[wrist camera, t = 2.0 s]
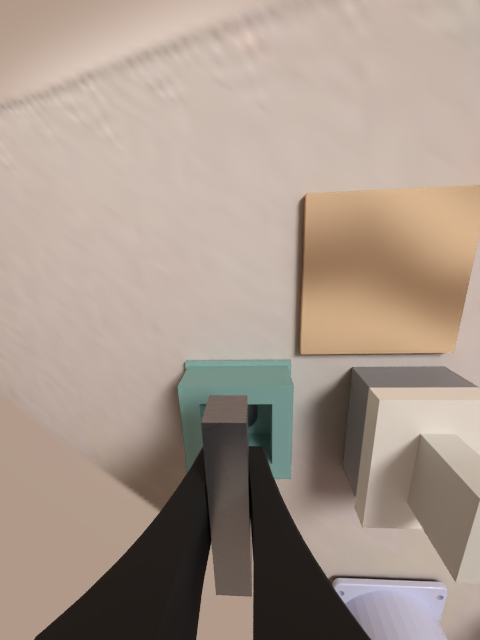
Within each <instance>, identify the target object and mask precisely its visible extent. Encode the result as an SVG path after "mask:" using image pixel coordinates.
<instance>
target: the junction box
mask: <svg viewBox="0 0 480 640" xmlns="http://www.w3.org/2000/svg"><path fill="white" fill-rule="evenodd" d="M421 387H478V386H476V385H474V384H473V383H471V382H469V381H468V380H466V379H464V378H463V377H461V376H459V375H458V374H456V373H454V372H453V371H451V370H449V369H448V368H446V367H352V377H351V387H350V397H349V407H348V418H347V428H346V438H345V448H344V458H343V469H344V471H345V473H346V476H347V478H348V481H349V483H350V485H351V488H352V490H353V493H354V495H355V497H356V492H357V484H358V476H359V467H360V459H361V451H362V443H363V434H364V426H365V418H366V409H367V401H368V393H369V388H421Z"/></svg>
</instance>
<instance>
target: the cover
mask: <svg viewBox="0 0 480 640" xmlns="http://www.w3.org/2000/svg"><path fill="white" fill-rule="evenodd" d="M355 510H356V512H357V515H358V518H359V520H360V523H361V525H362V527H366V528H402V529H423V530H424V531H425V533H426V535H427V536H428V538H429V539H430V541H431V543H432V544H433V546H434V548H435V549H436V551H437V552H438V554H439V556H440V557H441V559H442V561H443V562H444V564H445V566H446V567H447V569H448V570H449V572H450V574H451V575H452V577H453V579H454V580H455V582H462V583H480V387H421V388H369V393H368V401H367V409H366V418H365V426H364V434H363V443H362V451H361V459H360V467H359V476H358V484H357V492H356V501H355Z"/></svg>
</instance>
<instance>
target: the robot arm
mask: <svg viewBox="0 0 480 640" xmlns="http://www.w3.org/2000/svg"><path fill="white" fill-rule="evenodd" d="M249 484H250V519H251V533H252V547H253V560H254V603H253V604H254V605H253V611H254V612H253V613H254V614H253V619H254V621H253V622H254V623H253V640H447V638H446V636H445V634H444V632H443V630H442V628H441V626H440V624H439V622H440V618H441V615H442V611H443V608H444V605H445V601H446V598H447V594H448V590H447V588H446V587H445V585H444V584H443V583H441V582H433V581H408V580H383V579H358V578H336V579H335V580H334V581H333V586H332V584H331V583H330V581H329V580H328V578H327V577H326V575H325V574H324V572H323V571H322V569H321V567H320V566H319V564H318V563H317V561H316V560H315V558H314V557H313V555H312V553H311V551H310V550H309V548H308V546H307V545H306V543H305V541H304V540H303V538H302V536H301V534H300V532H299V531H298V529H297V527H296V525H295V523H294V521H293V519H292V517H291V515H290V513H289V511H288V509H287V507H286V505H285V503H284V501H283V499H282V496H281V494H280V492H279V489H278V487H277V484H276V482H275V480H274V477H273V474H272V471H271V468H270V466H269V462H268V459H267V455H266V449H265V448H264V447H263V446H249ZM210 545H211V530H210V519H209V507H208V496H207V485H206V473H205V462H204V451H203V447H202V448H201V450H200V452H199V454H198V456H197V458H196V459H195V461H194V463H193V464H192V466H191V468H190V469H189V471H188V473H187V474H186V476H185V477H184V479H183V480H182V482H181V483H180V485H179V486H178V488H177V489H176V491H175V492H174V494H173V495H172V496H171V498H170V499H169V501H168V502H167V503H166V505H165V506H164V507H163V509H162V510H161V511H160V513H159V514H158V515H157V517H156V518H155V519H154V520H153V522H152V523H151V524H150V525H149V527H148V528H147V529H146V530H145V531H144V533H143V534H142V535H141V536H140V537H139V538H138V539H137V541H136V542H135V543H134V544H133V545H132V546H131V547H130V548H129V549H128V551H127V552H126V553H125V554H124V555H123V556H122V557H121V558H120V559H119V560H118V561H117V562H116V563H115V564H114V565H113V566H112V567H111V568H110V569H109V571H107V572H106V573H105V574H104V575H103V576H102V577H101V578H100V579H99V580H98V581H97V582H96V583H95V584H94V585H93V586H92V587H91V588H90V589H89V590H88V591H87V592H86V593H85V594H84V595H83V596H82V597H81V598H80V599H78V600H77V601H76V602H75V603H74V604H73V605H72V606H71V607H70V608H68V609H67V610H66V611H65V612H64V613H63V614H62V615H60V616H59V617H58V618H57V619H56V620H55V621H54V622H52V623H51V624H50V625H49V626H48V627H47V628H46V629H45V630H43V631H42V632H41V633H40V634H39V635H37V636H36V638H35V639H34V640H196V636H197V628H198V619H199V611H200V603H201V594H202V588H203V582H204V576H205V571H206V566H207V561H208V555H209V550H210Z"/></svg>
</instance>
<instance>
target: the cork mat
mask: <svg viewBox="0 0 480 640" xmlns="http://www.w3.org/2000/svg"><path fill="white" fill-rule="evenodd" d="M479 233H480V185H478V186H457V187H435V188H413V189H392V190H370V191H349V192H327V193H306V195H305V202H304V232H303V261H302V290H301V319H300V349H299V352H300V354H382V353H454V350H455V345H456V340H457V336H458V331H459V326H460V322H461V317H462V313H463V308H464V303H465V299H466V294H467V289H468V285H469V280H470V275H471V271H472V266H473V261H474V257H475V252H476V247H477V243H478V238H479Z"/></svg>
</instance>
